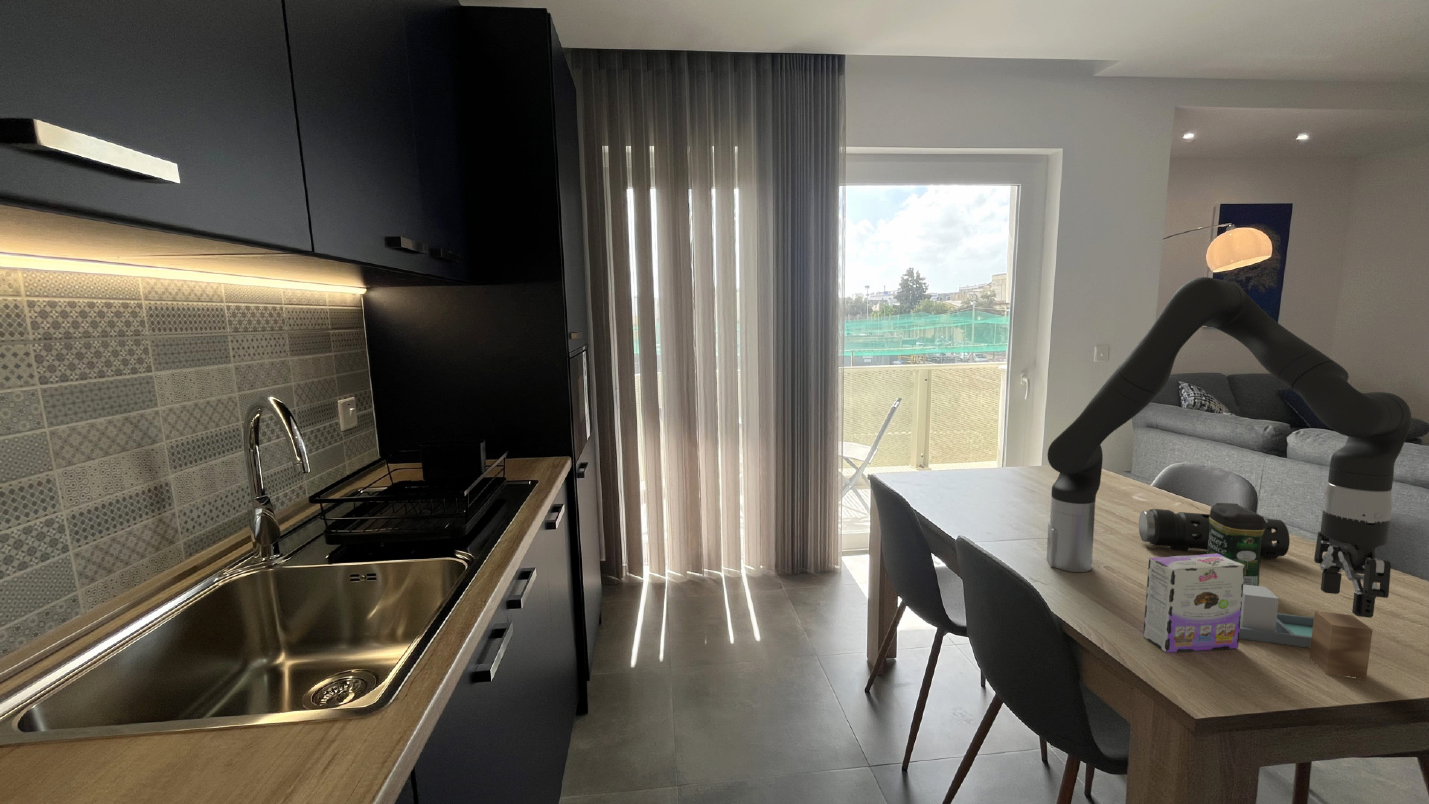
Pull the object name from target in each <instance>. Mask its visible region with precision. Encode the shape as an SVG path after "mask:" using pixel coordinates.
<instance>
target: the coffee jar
mask: <svg viewBox="0 0 1429 804" xmlns="http://www.w3.org/2000/svg"><path fill="white" fill-rule="evenodd" d="M1209 511H1210V512H1209V514H1210V515H1209V526H1210V532H1209V542H1208V550H1206V553H1207V554H1220V555H1222V556H1224V557H1226V558H1229V559H1232V560H1234V561H1236V562H1238V563H1241V564H1243V565H1245V570H1244V582H1243V584H1244V585H1253V586H1260V563H1261V562H1260V560H1261V557H1260V547H1261V539H1262V536H1263V533H1264V528H1265V524H1264V519H1265V518H1264V516H1262V515H1260V514H1258V513H1257V512H1254V511H1253V510H1250V509H1249V508H1246V507H1244V506H1241V505H1239V504H1238V503H1232V502H1231V503H1230V502H1216V503H1215V504H1213V505H1212V506H1211V507H1210V510H1209Z"/></svg>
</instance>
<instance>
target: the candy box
mask: <svg viewBox="0 0 1429 804" xmlns="http://www.w3.org/2000/svg"><path fill="white" fill-rule="evenodd" d="M1244 570H1245V565H1243V564H1241V563H1238V562H1236V561H1234V560H1232V559H1229V558H1226V557H1224V556H1222V555H1220V554H1191V555H1175V556H1174V555H1173V556H1154V557H1151V556H1150V557H1149V558H1148V569H1147V579H1146V580H1147V583H1146V595H1145V605H1144V607H1145V609H1144V610H1145V611H1144V620H1143V621H1144V623H1143V638H1145V639H1146V640H1148V642H1150V643H1152V644H1153V645H1155V647H1157V648H1159V649H1160V650H1162V652H1164V653H1168V654H1169V653H1179V652H1180V653H1183V652H1197V651H1198V652H1199V651H1200V652H1201V651H1210V650H1212V651H1213V650H1224V649H1225V650H1230V649H1238V648H1239V644H1240V638H1239V632H1240V618H1241V606H1242V595H1243V582H1244Z"/></svg>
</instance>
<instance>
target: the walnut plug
mask: <svg viewBox="0 0 1429 804" xmlns="http://www.w3.org/2000/svg"><path fill="white" fill-rule="evenodd" d="M1313 617H1314V621H1313V629H1312V638H1311V647H1310V648H1309V656H1308V657H1309V658H1308V659H1309V660H1311V659H1312V660H1311V661H1312V662H1313V661H1314V662H1313V663H1314V665H1316V664H1317V665H1318V666H1317V665H1316V666H1317V667H1318V668H1319V667H1320V668H1321V669H1322V670H1323V671H1324V672H1325V673H1324V672H1323V671H1322V670H1321V669H1320V668H1319V669H1320V670H1321V671H1322V672H1323V673H1324V674H1325V675H1328V674H1332V675H1331V676H1335V675H1340V676H1339V677H1341V676H1350V677H1356V678H1361V679H1360V680H1362V679H1366V680H1367V674H1368V667H1369V659H1370V651H1371V646H1372V637H1373V629H1372V628H1371V627H1369V626H1368V625H1366V623H1364V622H1363V621H1361V620H1360V619H1358V618H1357V616H1355V615H1354V614H1353V615H1352V614H1345V613H1336V612H1327V611H1319V610H1314V614H1313Z"/></svg>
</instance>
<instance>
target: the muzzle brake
mask: <svg viewBox="0 0 1429 804" xmlns="http://www.w3.org/2000/svg"><path fill="white" fill-rule="evenodd" d="M1209 515H1210V513H1196V512H1195V513H1194V512H1187V511H1185V512H1184V511H1179V512H1177V513H1175V512H1174V511H1172V510H1170V509H1162V508H1161V509H1158V508H1151V509H1148V510H1142V511H1140V513H1139V518H1138V532H1139V537H1140V540H1141V541H1142V542H1145V543H1149V544H1151V545H1152V546H1157V547H1158V546H1159V547H1169V549H1170V550H1174V551H1184V552H1185V551H1186V552H1187V551H1188V550H1189V549H1193V550H1194V549H1195V550H1201V551H1202V550H1203V551H1207V550H1208V542H1209V532H1210V526H1209ZM1264 524H1265V528H1264V533H1263V536H1262V539H1261V547H1260V558H1263V559H1264V558H1265V559H1274V560H1276V559H1278V557H1285V555H1287V553H1288V552H1289V549H1290V541H1291V540H1290V532H1289V529H1288V527H1287V525H1286V524H1285V523H1284V521H1283V520H1280V519H1276V518H1275V519H1274V518H1264ZM1273 530H1275V531H1273ZM1273 542H1274V543H1273Z"/></svg>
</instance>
